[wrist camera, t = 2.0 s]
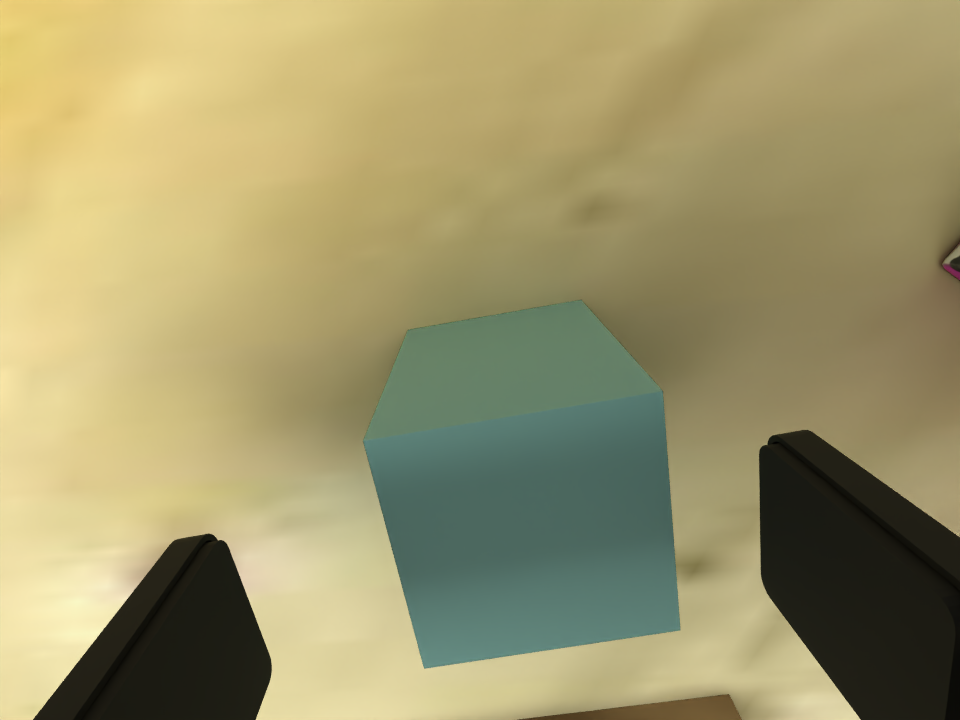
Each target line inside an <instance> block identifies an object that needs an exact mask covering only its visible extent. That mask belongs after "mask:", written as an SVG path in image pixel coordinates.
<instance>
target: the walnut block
mask: <svg viewBox="0 0 960 720" xmlns="http://www.w3.org/2000/svg"><path fill="white" fill-rule="evenodd" d="M519 720H742V719H741V717H740V715H739V713H738V711H737V709H736V707H735V705H734V703H733V701H732V699H731V697H730V695H729V694H727V695H719V696H710V697H702V698H694V699H685V700H677V701H669V702H661V703H652V704H644V705H636V706H627V707H619V708H611V709H602V710H594V711H586V712H577V713H569V714H561V715H552V716H544V717H536V718H527V719H519Z"/></svg>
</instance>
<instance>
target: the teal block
mask: <svg viewBox="0 0 960 720" xmlns="http://www.w3.org/2000/svg"><path fill="white" fill-rule="evenodd" d="M363 442H364V446H365V450H366V454H367V457H368V461H369V465H370V469H371V472H372V476H373V480H374V483H375V487H376V491H377V495H378V498H379V502H380V506H381V510H382V513H383V517H384V521H385V524H386V528H387V532H388V536H389V539H390V543H391V547H392V551H393V554H394V558H395V562H396V565H397V569H398V573H399V577H400V580H401V584H402V588H403V592H404V595H405V599H406V603H407V606H408V610H409V614H410V618H411V621H412V625H413V629H414V633H415V636H416V640H417V644H418V647H419V651H420V655H421V659H422V662H423V666H424V669H425V668H431V667H438V666H445V665H451V664H458V663H465V662H472V661H478V660H485V659H492V658H498V657H505V656H512V655H518V654H525V653H532V652H539V651H545V650H552V649H559V648H565V647H572V646H579V645H585V644H592V643H599V642H606V641H612V640H619V639H626V638H632V637H639V636H646V635H652V634H659V633H666V632H673V631H679V630H680V618H679V604H678V591H677V577H676V564H675V550H674V536H673V523H672V509H671V496H670V482H669V468H668V455H667V441H666V428H665V414H664V400H663V391H662V390H661V389H660V387H659V386H658V385H657V384H656V383H655V382H654V381H653V380H652V378H651V377H650V376H649V375H648V374H647V373H646V372H645V371H644V370H643V368H642V367H641V366H640V365H639V364H638V363H637V362H636V361H635V359H634V358H633V357H632V356H631V355H630V354H629V353H628V352H627V351H626V349H625V348H624V347H623V346H622V345H621V344H620V343H619V342H618V340H617V339H616V338H615V337H614V336H613V335H612V334H611V333H610V332H609V330H608V329H607V328H606V327H605V326H604V325H603V324H602V323H601V321H600V320H599V319H598V318H597V317H596V316H595V315H594V314H593V313H592V311H591V310H590V309H589V308H588V307H587V306H586V305H585V304H584V302H583V301H582V300H577V301H572V302H566V303H560V304H554V305H549V306H543V307H537V308H531V309H526V310H520V311H514V312H508V313H502V314H497V315H491V316H485V317H479V318H474V319H468V320H462V321H456V322H451V323H445V324H439V325H433V326H428V327H422V328H416V329H410V330H408V331H407V333H406V336H405V338H404V341H403V343H402V346H401V348H400V351H399V353H398V356H397V358H396V361H395V363H394V366H393V368H392V371H391V373H390V376H389V378H388V381H387V383H386V385H385V388H384V390H383V393H382V395H381V398H380V400H379V403H378V405H377V408H376V410H375V413H374V415H373V418H372V420H371V423H370V425H369V428H368V430H367V432H366V435H365V437H364V440H363Z"/></svg>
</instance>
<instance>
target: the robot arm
mask: <svg viewBox="0 0 960 720" xmlns="http://www.w3.org/2000/svg"><path fill="white" fill-rule="evenodd" d="M759 474H760V544H761V577H762V582H763V585H764V587H765V590H766V592H767V594H768V595H769V597H770V598H771V600H772V601H773V602H774V604H775V605H776V606H777V608H778V609H779V610H780V612H781V613H782V614H783V616H784V617H785V619H786V620H787V621H788V623H789V624H790V625H791V627H792V628H793V629H794V631H795V632H796V633H797V635H798V636H799V637H800V639H801V640H802V641H803V643H804V644H805V645H806V647H807V648H808V649H809V651H810V652H811V653H812V655H813V656H814V657H815V659H816V660H817V661H818V663H819V664H820V665H821V667H822V668H823V669H824V671H825V672H826V673H827V675H828V676H829V677H830V679H831V680H832V681H833V683H834V684H835V686H836V687H837V688H838V690H839V691H840V692H841V694H842V695H843V696H844V698H845V699H846V700H847V702H848V703H849V704H850V706H851V707H852V708H853V710H854V711H855V712H856V714H857V715H858V716H859V718H860V719H861V720H960V537H958V536H957V535H956V534H954V533H953V532H951V531H950V530H949V529H947V528H946V527H944V526H943V525H942V524H940V523H939V522H937V521H936V520H935V519H933V518H932V517H930V516H929V515H928V514H926V513H925V512H923V511H922V510H921V509H919V508H918V507H916V506H915V505H914V504H912V503H911V502H909V501H908V500H907V499H905V498H904V497H902V496H901V495H900V494H898V493H897V492H895V491H894V490H893V489H891V488H890V487H888V486H887V485H886V484H884V483H883V482H881V481H880V480H879V479H877V478H876V477H874V476H873V475H872V474H870V473H869V472H867V471H866V470H865V469H863V468H862V467H860V466H859V465H858V464H856V463H855V462H853V461H852V460H851V459H849V458H848V457H846V456H845V455H844V454H842V453H841V452H839V451H838V450H837V449H835V448H834V447H832V446H831V445H830V444H828V443H827V442H825V441H824V440H823V439H821V438H820V437H818V436H817V435H816V434H814V433H813V432H811V431H809V430H801V431H795V432H790V433H784V434H778V435H773V436H771V437H770V438H769V441H768V445H765V446H762V447H761V449H760V452H759ZM271 672H272V665H271V658H270V655H269V652H268V650H267V647H266V644H265V642H264V639H263V637H262V634H261V631H260V629H259V626H258V623H257V621H256V618H255V616H254V613H253V610H252V608H251V605H250V602H249V600H248V597H247V595H246V592H245V589H244V587H243V584H242V581H241V579H240V576H239V574H238V571H237V568H236V566H235V563H234V560H233V558H232V555H231V553H230V550H229V547H228V545H227V544H226V543H225V542H224V541H222V540H219V541H218V540H217V538H216V537H215V536H214V535H212V534H204V535H198V536H193V537H187V538H181V539H177V540H174V541H173V542H172V543H171V544H170V545H169V547H168V548H167V549H166V550H165V552H164V553H163V554H162V556H161V557H160V558H159V559H158V561H157V562H156V563H155V565H154V566H153V567H152V568H151V570H150V571H149V572H148V573H147V575H146V576H145V577H144V579H143V580H142V581H141V582H140V584H139V585H138V586H137V588H136V589H135V590H134V591H133V593H132V594H131V595H130V596H129V598H128V599H127V600H126V602H125V603H124V604H123V605H122V607H121V608H120V609H119V611H118V612H117V613H116V614H115V616H114V617H113V618H112V619H111V621H110V622H109V623H108V625H107V626H106V627H105V628H104V630H103V631H102V632H101V633H100V635H99V636H98V637H97V639H96V640H95V641H94V642H93V644H92V645H91V646H90V648H89V649H88V650H87V651H86V653H85V654H84V655H83V656H82V658H81V659H80V660H79V662H78V663H77V664H76V665H75V667H74V668H73V669H72V671H71V672H70V673H69V674H68V676H67V677H66V678H65V679H64V681H63V682H62V683H61V685H60V686H59V687H58V688H57V690H56V691H55V692H54V694H53V695H52V696H51V697H50V699H49V700H48V701H47V702H46V704H45V705H44V706H43V708H42V709H41V710H40V711H39V713H38V714H37V715H36V716H35V718H34V719H33V720H256V717H257V714H258V712H259V709H260V706H261V704H262V701H263V698H264V695H265V693H266V690H267V687H268V685H269V682H270V678H271Z"/></svg>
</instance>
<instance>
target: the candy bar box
mask: <svg viewBox="0 0 960 720" xmlns="http://www.w3.org/2000/svg"><path fill="white" fill-rule="evenodd" d="M942 265H943V267H944V269H946V270H947V271H948V272H949V273H951V274H952V275H953V276H955V277H956V278H957V279H959V280H960V243H959V244H958V245H957V246H956V248H955V249H954V250H953V251H952V252H951V253H950V254H949V255H948V256H947V258H946V259H945V260H944V262H943V263H942Z"/></svg>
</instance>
